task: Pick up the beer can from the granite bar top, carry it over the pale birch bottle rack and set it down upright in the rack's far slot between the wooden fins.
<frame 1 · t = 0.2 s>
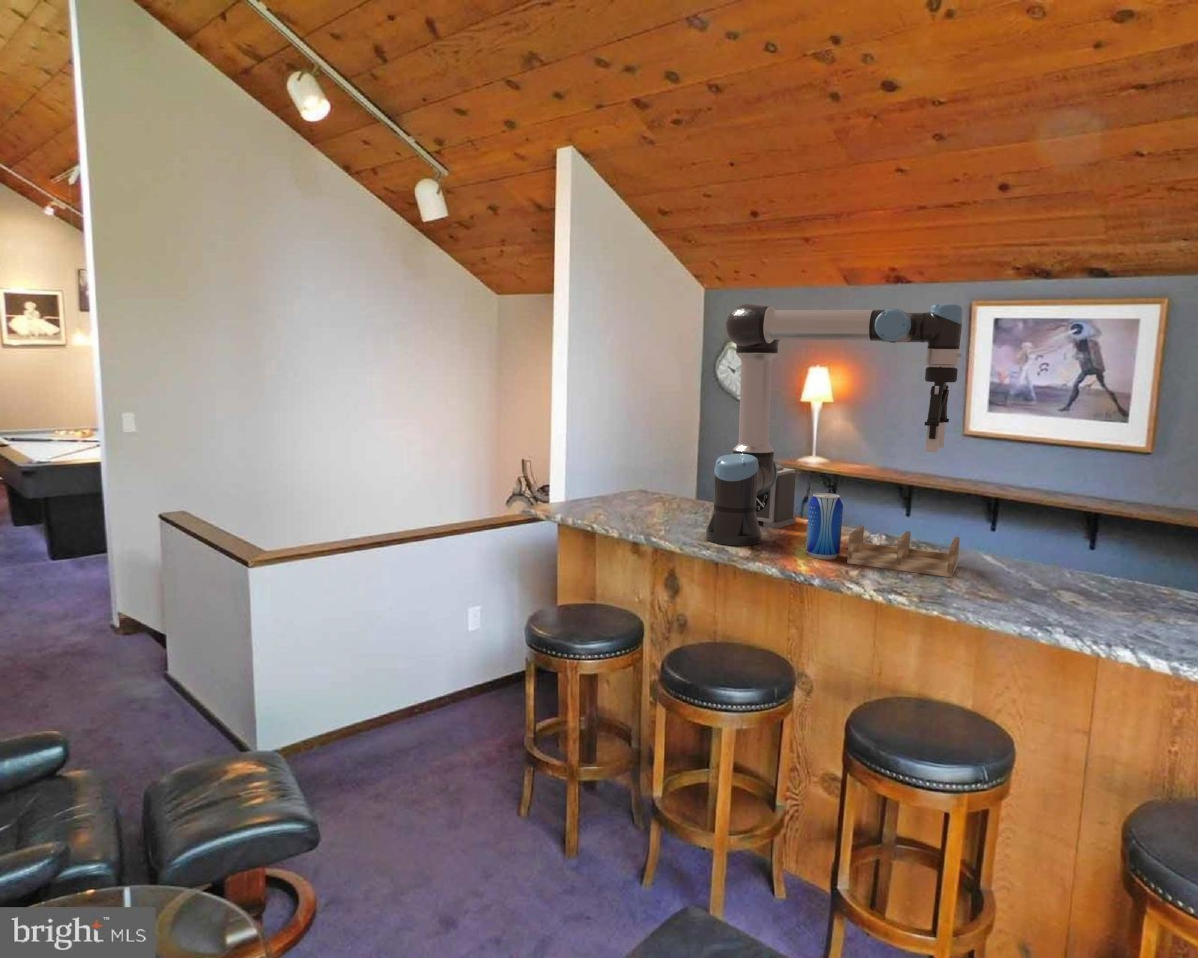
hand: (934, 449, 206), 28 cm above the countertop, fingers open, 13 cm apart
alarm clock: (760, 521, 250), on the countertop
beer can: (822, 557, 206), on the countertop
rack: (902, 564, 199), on the countertop
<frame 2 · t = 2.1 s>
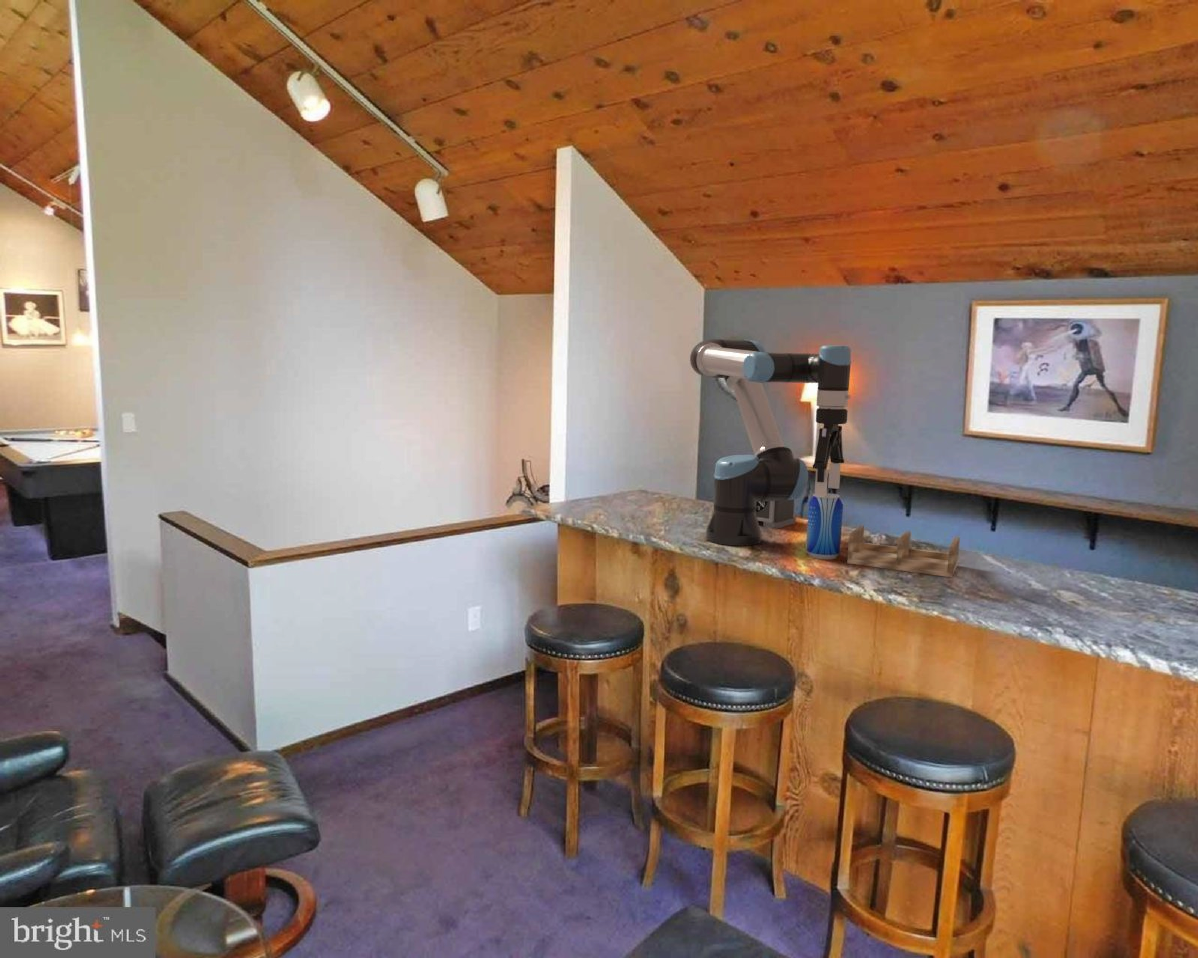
hand: (827, 491, 203), 17 cm above the countertop, fingers open, 13 cm apart
nothing on the countertop moved.
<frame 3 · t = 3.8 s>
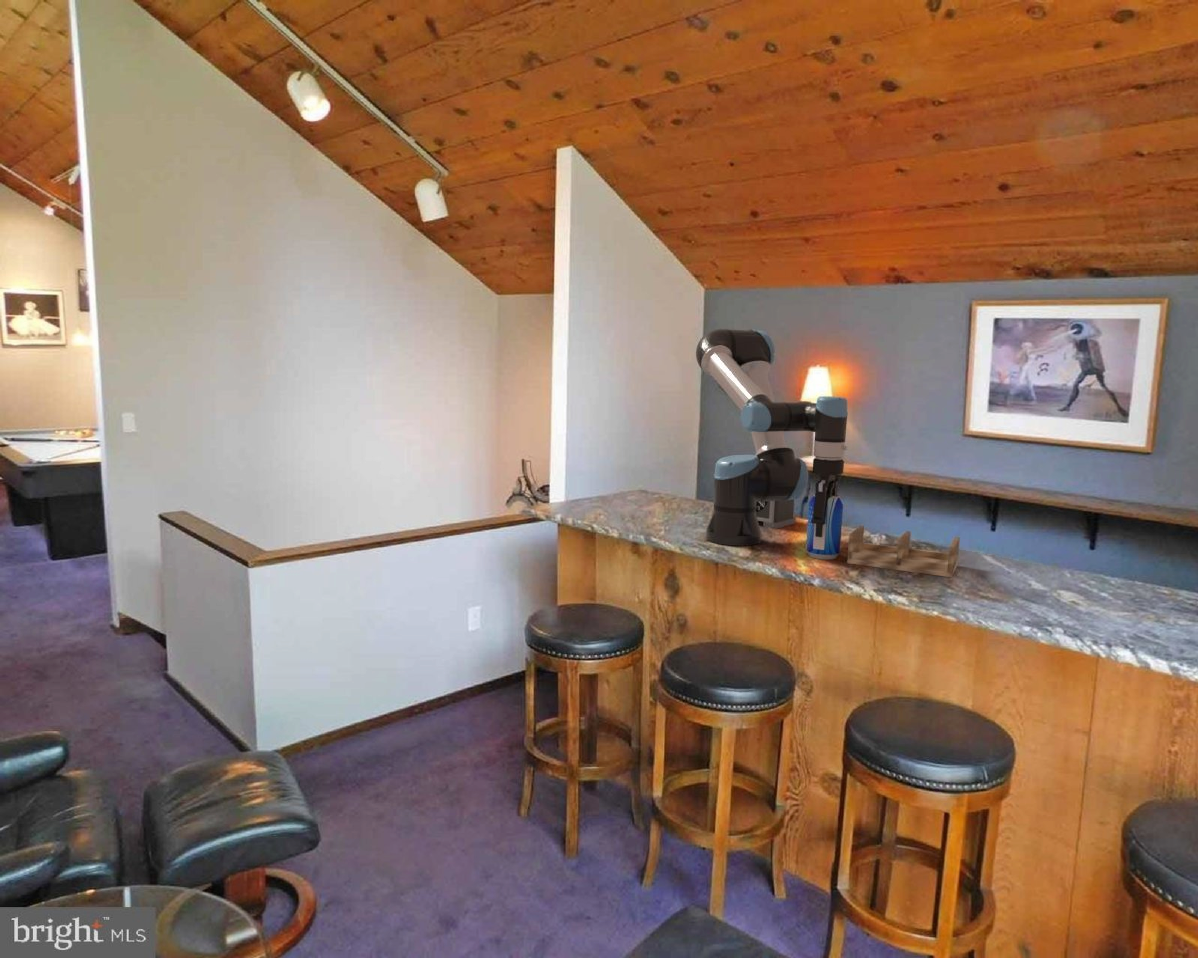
hand: (823, 545, 206), 3 cm above the countertop, fingers closed on beer can, 8 cm apart
beer can: (822, 556, 206), on the countertop, touching gripper
everything else where it was.
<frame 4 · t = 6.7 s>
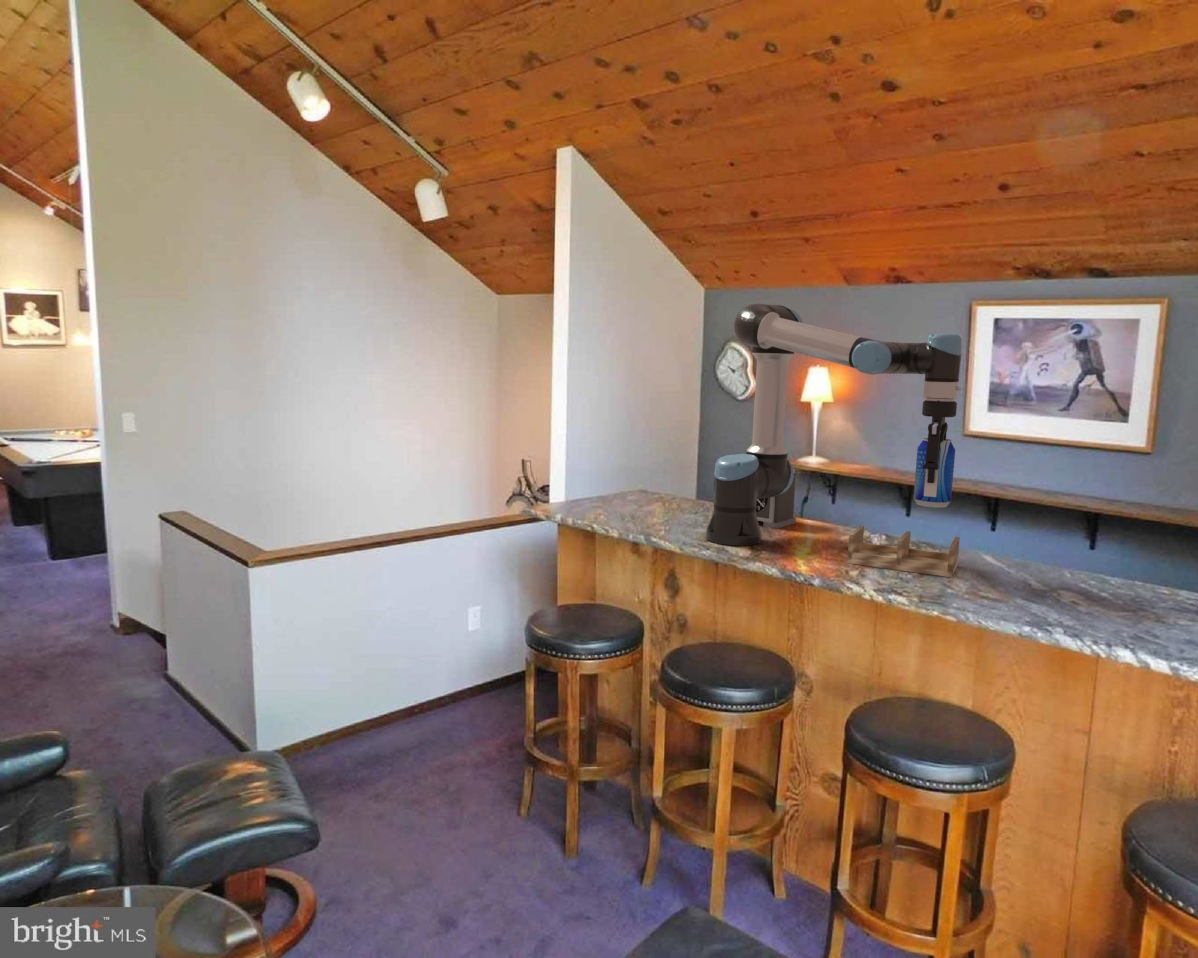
hand: (932, 493, 194), 18 cm above the countertop, fingers closed on beer can, 8 cm apart
beer can: (931, 505, 194), point 15 cm above the countertop, touching gripper
everything else where it was.
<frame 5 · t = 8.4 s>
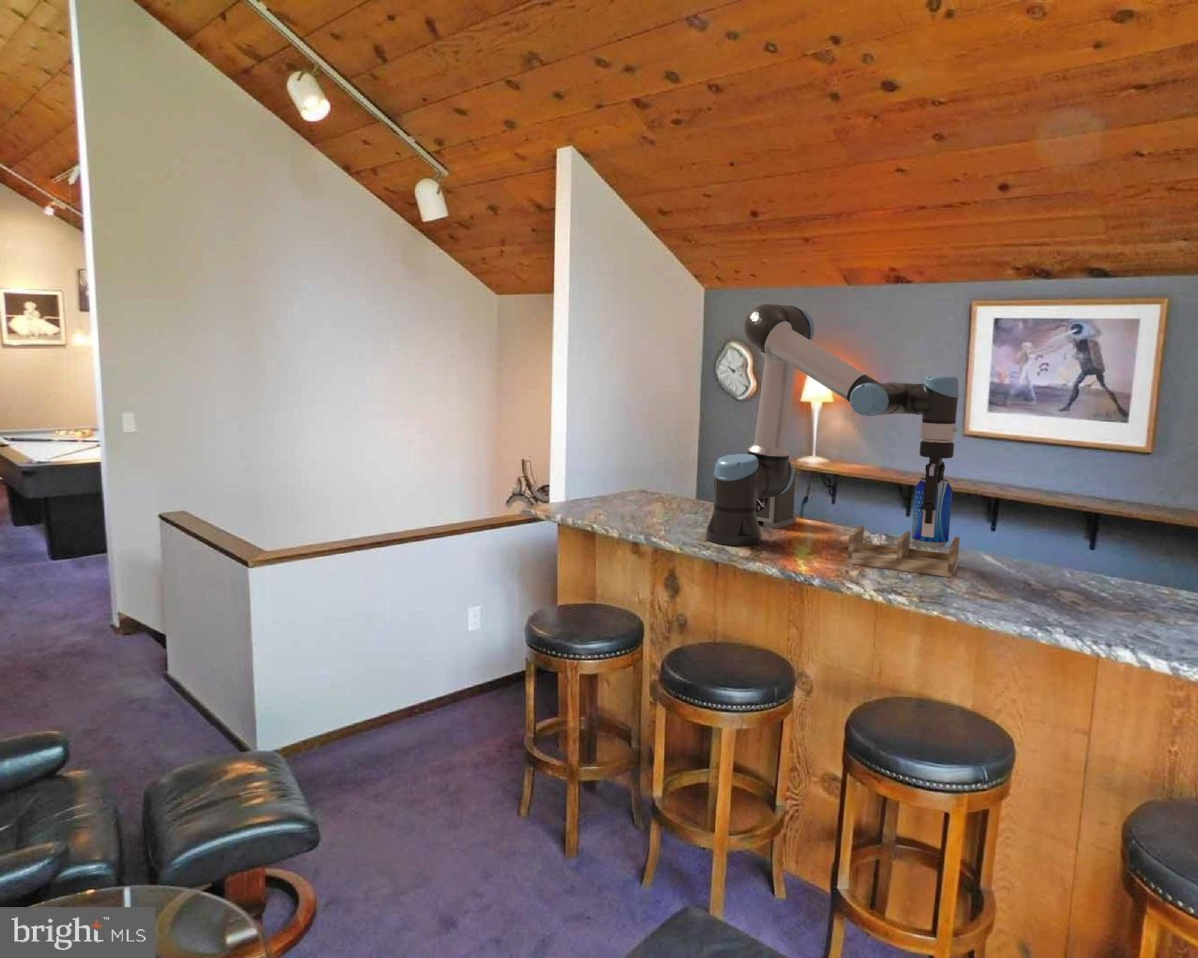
hand: (930, 533, 195), 9 cm above the countertop, fingers closed on beer can, 8 cm apart
beer can: (929, 545, 196), point 6 cm above the countertop, touching gripper
everything else where it was.
when the fingers open (5 cm above the countertop, at t = 9.6 s): beer can drops 1 cm, resting on rack.
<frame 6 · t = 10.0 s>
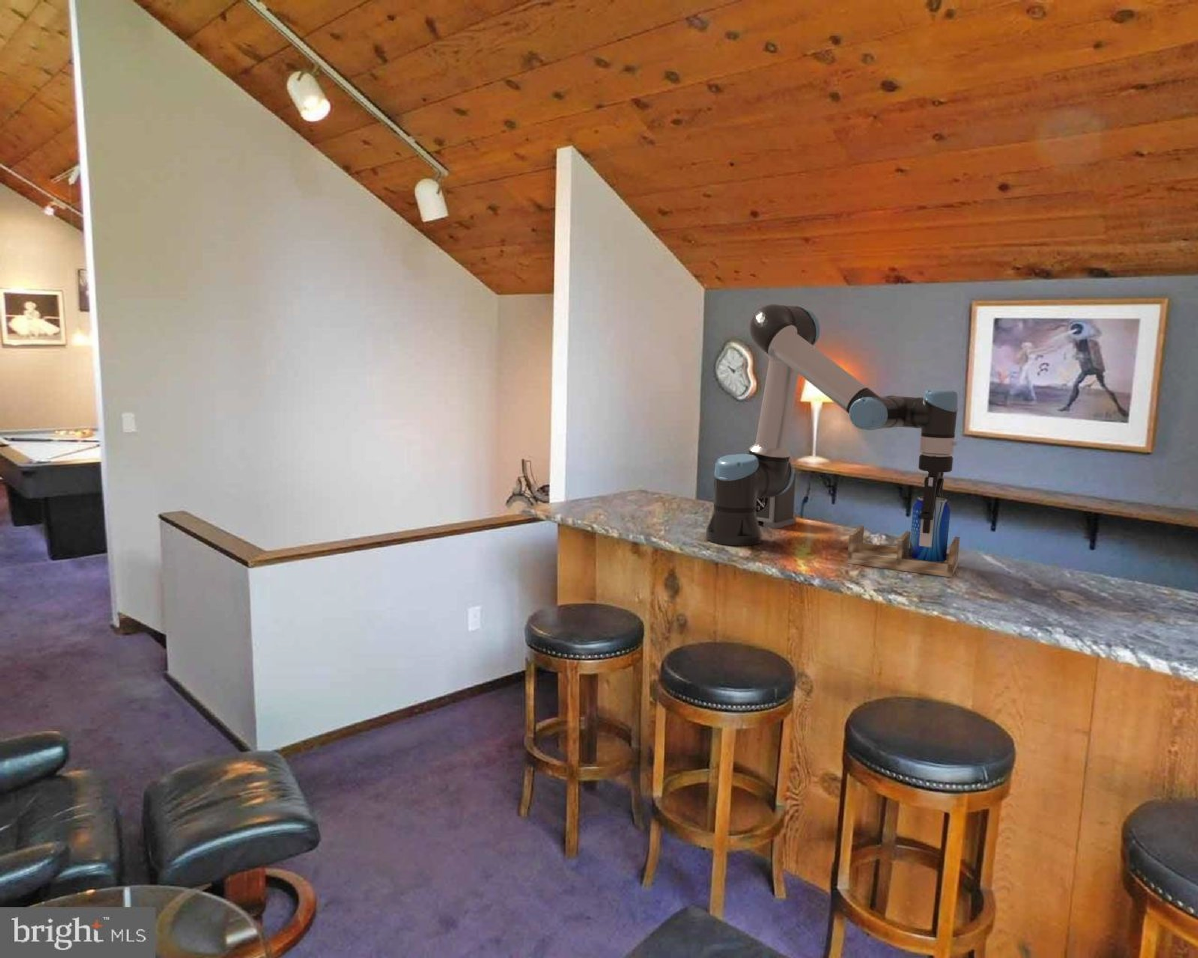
hand: (929, 540, 196), 7 cm above the countertop, fingers open, 13 cm apart
beer can: (926, 563, 196), point 1 cm above the countertop, touching rack
everything else where it was.
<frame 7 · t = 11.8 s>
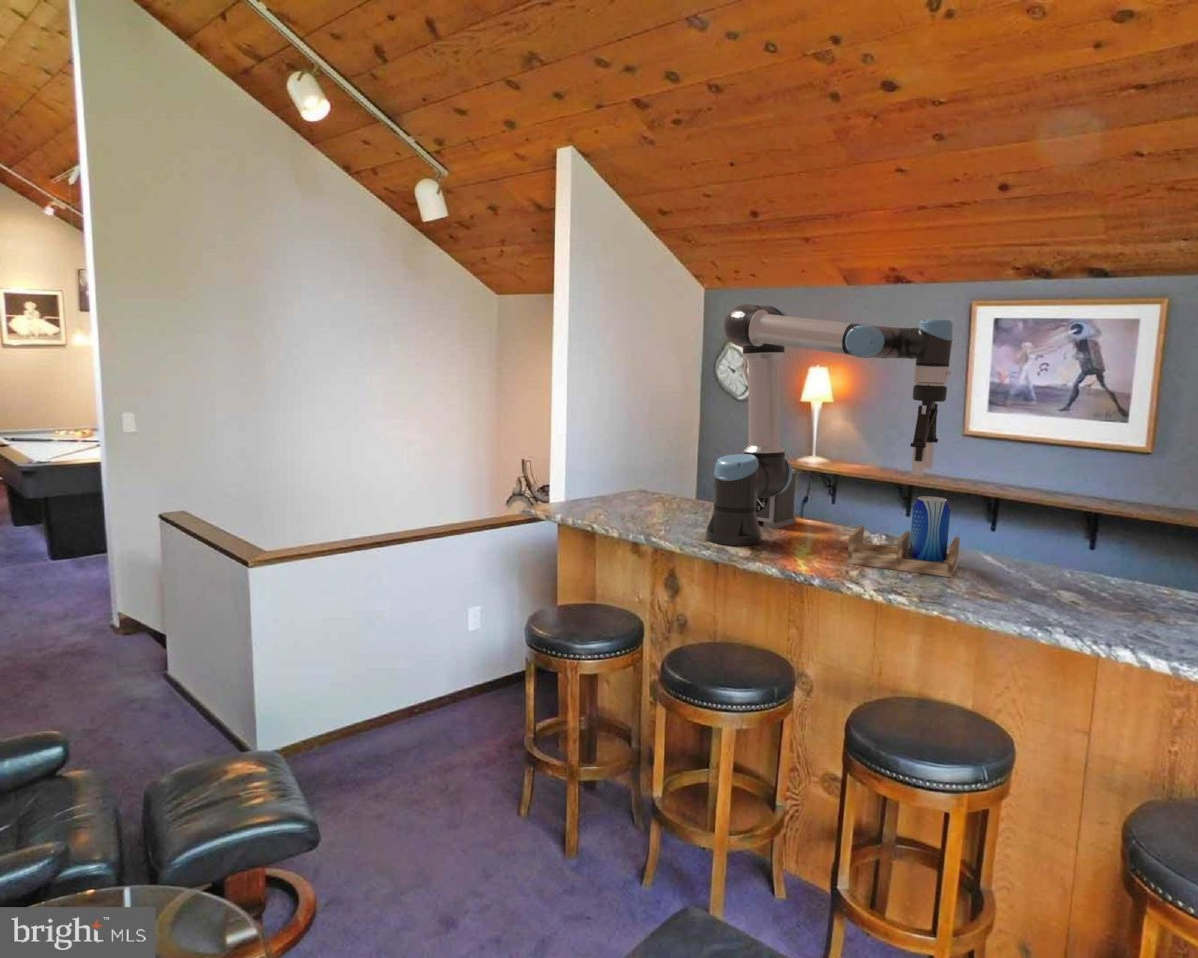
hand: (921, 471, 197), 23 cm above the countertop, fingers open, 13 cm apart
nothing on the countertop moved.
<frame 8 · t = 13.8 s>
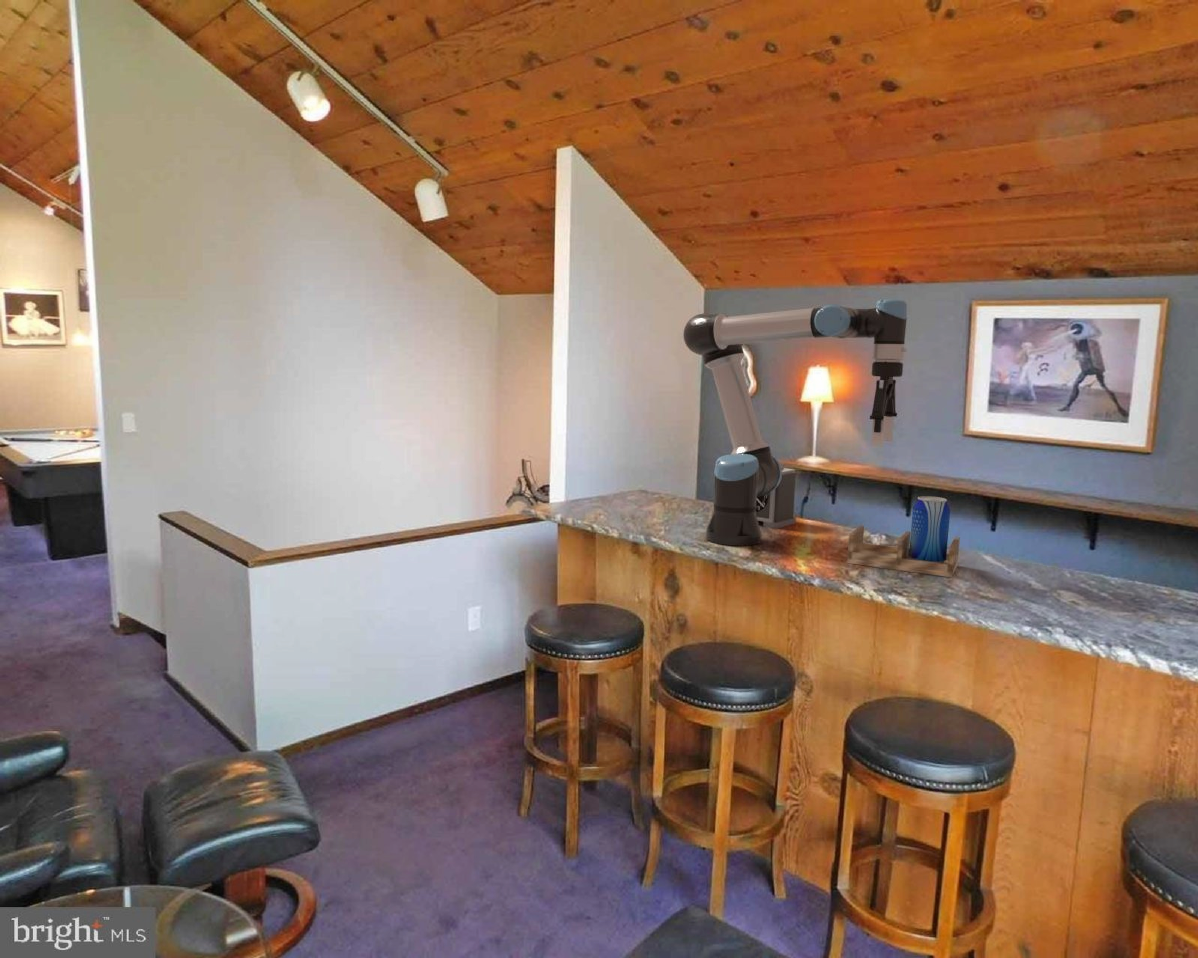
hand: (881, 443, 210), 29 cm above the countertop, fingers open, 13 cm apart
nothing on the countertop moved.
at the end: beer can inside the target area on the rack (0.0 cm from its centre), point 1.0 cm above the rack's base; beer can tilted 0°; the gripper is holding nothing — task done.
